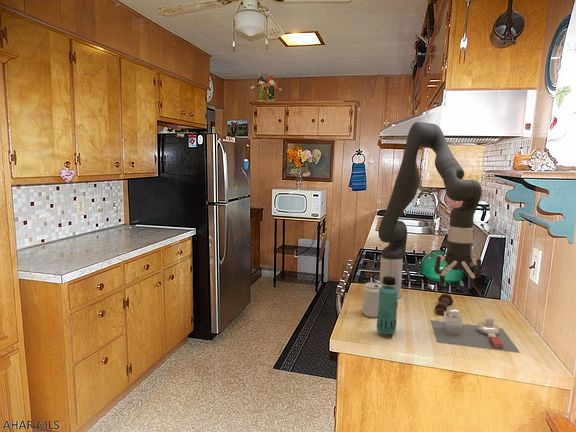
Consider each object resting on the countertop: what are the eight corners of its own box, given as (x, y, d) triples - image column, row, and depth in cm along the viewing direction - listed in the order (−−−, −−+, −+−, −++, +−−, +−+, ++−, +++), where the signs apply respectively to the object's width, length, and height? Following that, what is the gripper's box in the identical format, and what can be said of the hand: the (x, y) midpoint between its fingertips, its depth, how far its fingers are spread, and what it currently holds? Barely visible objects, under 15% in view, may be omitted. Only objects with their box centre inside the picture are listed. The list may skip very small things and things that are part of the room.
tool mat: (437, 344, 122) (437, 342, 122) (430, 322, 139) (430, 320, 139) (520, 355, 116) (520, 352, 116) (502, 330, 133) (502, 328, 133)
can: (380, 319, 140) (382, 288, 138) (360, 316, 143) (362, 286, 141) (382, 312, 147) (384, 282, 145) (363, 309, 150) (364, 280, 148)
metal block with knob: (445, 333, 128) (447, 311, 127) (442, 327, 133) (444, 305, 132) (461, 335, 127) (463, 312, 126) (458, 329, 132) (460, 307, 130)
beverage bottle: (376, 337, 125) (380, 279, 123) (375, 329, 132) (378, 273, 129) (397, 339, 125) (401, 281, 122) (394, 330, 131) (397, 275, 128)
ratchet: (486, 347, 119) (488, 331, 118) (475, 327, 134) (476, 313, 133) (509, 350, 118) (511, 334, 117) (495, 329, 132) (496, 315, 131)
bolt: (437, 321, 145) (443, 307, 157) (449, 317, 142) (455, 304, 155) (430, 307, 145) (436, 294, 158) (442, 303, 143) (448, 291, 155)
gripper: (480, 239, 127) (476, 285, 130) (435, 236, 131) (432, 281, 133) (486, 243, 120) (481, 292, 122) (438, 240, 123) (435, 288, 126)
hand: (455, 287), depth 128 cm, fingers open, 8 cm apart
